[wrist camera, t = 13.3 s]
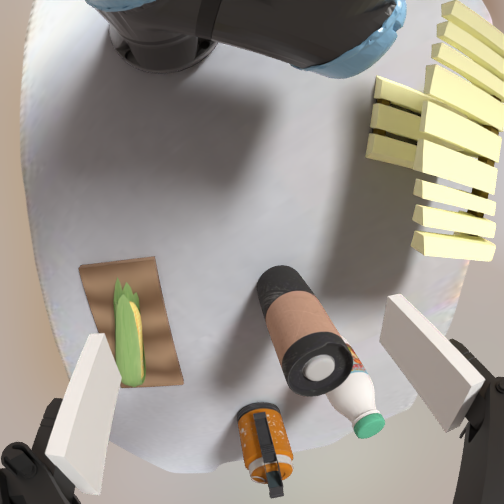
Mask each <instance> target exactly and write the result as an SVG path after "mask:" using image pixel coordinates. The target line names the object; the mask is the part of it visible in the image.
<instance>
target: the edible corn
mask: <svg viewBox="0 0 504 504" xmlns="http://www.w3.org/2000/svg"><path fill="white" fill-rule="evenodd" d="M114 317H115V358H116V365H117V367H118V370H119V372H120V375H121V377H122V379H121V382H122V383H123V384H124V385H128V386H132V387H137V386H139V385H142V384H143V383H144V381H145V377H146V361H145V352H144V344H143V334H142V321H141V314H140V305H139V298H138V295H137V292H136V293H135V294H134V295H133V293H132V290H131V287H130V286H129V284H128V283H127V282H126V284H125V286H124V288H123V291H122V287H121V284H120V281H119V279H118V277H117V280H116V283H115V291H114Z"/></svg>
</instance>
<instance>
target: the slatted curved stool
mask: <svg viewBox="0 0 504 504" xmlns="http://www.w3.org/2000/svg"><path fill="white" fill-rule="evenodd" d="M441 9H442V17H443V18H445V19H447V20H448V21H446V22H443V23H439V24H437V37H438V38H440V39H441V40H443V41H445V42H447V43H448V44H450V45H451V46H453V47H455V48H456V49H458V50H459V51H461V52H462V53H464V54H465V55H466V56H468V57H469V58H470V59H469V58H467V57H466V56H464V55H463V54H461V53H459V52H458V51H456V50H454V49H453V48H451V47H449V46H447V45H446V44H444V43H442V42H441V43H437V44H433V45H432V53H431V58H432V59H434V60H436V61H438V62H440V63H442V64H443V65H445V66H447V67H449V68H451V69H452V70H454V71H456V72H457V73H459V74H460V75H462V76H463V77H465V78H466V79H467V80H469V81H470V82H471V83H472V84H471V83H470V82H468V81H466V80H464V79H463V78H461V77H459V76H457V75H455V74H454V73H452V72H450V71H448V70H446V69H444V68H442V67H440V66H438V65H437V64H434V65H427V66H426V74H425V86H424V93H422V92H419V91H417V90H414V89H412V88H409V87H407V86H404V85H402V84H399V83H396V82H394V81H391V80H388V79H385V78H383V77H380V76H376V85H375V94H374V98H376V99H377V104H373V109H372V117H371V124H370V128H373V134H371V133H369V137H368V144H367V150H366V156H365V158H370V159H374V160H379V161H383V162H387V163H391V164H395V165H399V166H403V167H407V168H410V169H413V170H416V171H420V172H424V173H427V174H431V175H434V176H438V177H441V178H444V179H448V180H451V181H454V182H457V183H460V184H464V185H467V186H470V187H473V189H472V193H469V192H465V191H462V190H456V189H453V188H449V187H446V186H442V185H438V184H434V183H431V182H427V181H423V180H419V179H416V182H415V187H414V191H413V195H416V196H418V197H421V198H423V199H428V200H432V201H437V202H441V203H445V204H449V205H453V206H457V207H461V208H465V209H468V211H467V212H463V211H459V212H453V211H447V210H442V209H437V208H432V207H427V206H422V205H417V204H416V205H415V210H414V214H413V218H412V220H413V221H415V222H417V223H419V224H420V225H422V226H426V227H432V228H439V229H445V230H450V231H455V232H454V234H453V235H446V234H437V233H430V232H422V231H414V235H413V239H412V242H411V247H413V248H414V249H416V250H417V251H419V252H420V253H422V254H423V255H425V256H436V257H447V258H458V259H469V260H480V261H491V260H492V258H493V255H494V252H495V248H496V246H495V245H494V244H493V243H491V242H490V241H488V240H486V239H484V238H482V237H480V236H484V237H490V238H493V237H494V234H495V228H496V224H495V223H494V222H492V221H490V220H488V219H486V218H483V216H484V213H485V214H489V215H492V216H494V213H495V207H496V202H494V201H491V200H489V199H488V194H489V193H490V194H493V195H494V191H495V185H496V178H497V170H498V169H496V168H494V162H497V163H498V162H499V154H500V147H501V140H502V138H501V137H500V136H498V134H499V132H503V127H504V104H503V103H504V34H503V33H501V32H500V31H499V30H498V29H497V28H495V27H494V26H493V25H491V24H490V23H489V22H488V21H486V20H485V19H484V18H482V17H481V16H479V15H478V14H477V13H475V12H474V11H472V10H471V9H470V8H468V7H467V6H465V5H464V4H462V3H461V2H459V1H458V0H453V1H450V2H447V3H444V4H441ZM471 59H472V60H473V61H472V60H471ZM390 103H391V104H394V105H397V106H400V107H402V108H405V109H408V110H411V111H413V112H416V113H419V114H421V117H419V116H416V115H414V114H411V113H408V112H405V111H402V110H399V109H396V108H393V107H390ZM386 132H388V133H392V134H395V135H398V136H402V137H405V138H408V139H411V140H414V141H417V142H418V143H417V146H416V145H412V144H409V143H406V142H402V141H399V140H395V139H392V138H388V137H385V136H386ZM469 156H471V157H475V158H478V160H476V159H474V158H471V157H469ZM478 235H479V236H478Z"/></svg>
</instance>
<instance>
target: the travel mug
mask: <svg viewBox="0 0 504 504" xmlns="http://www.w3.org/2000/svg"><path fill="white" fill-rule="evenodd" d="M257 292H258V296H259V300H260V304H261V307H262V311H263V314H264V318H265V322H266V325H267V328H268V331H269V334H270V336H271V339H272V342H273V345H274V348H275V351H276V353H277V356H278V359H279V362H280V365H281V367H282V370H283V373H284V376H285V378H286V381H287V384H288V386H289V388H290V389H291V390H292V391H293V392H295V393H296V394H299V395H302V396H319V395H322V394H325V393H328V392H330V391H332V390H334V389H336V388H337V387H339V386H340V385H341V384H342V383H343V382H344V381H345V380H346V379H347V378H348V376H349V375H350V373H351V371H352V368H353V356H352V354H351V352H350V350H349V349H348V347H347V345H346V344H345V342H344V341H343V339H342V337H341V336H340V334H339V332H338V331H337V329H336V327H335V326H334V324H333V323H332V321H331V319H330V318H329V316H328V315H327V313H326V311H325V310H324V308H323V307H322V305H321V303H320V302H319V300H318V299H317V297H316V296H315V295H314V293H313V292H312V291H311V289H310V288H309V287H308V285H307V284H306V282H305V281H304V280H303V278H302V277H301V276H300V275H299V273H298V272H297V271H296V270H295V269H293V268H291V267H289V266H283V265H281V266H275V267H272V268H270V269H268V270H267V271H266V272H264V273H263V275H262V276H261V277H260V279H259V281H258V285H257Z"/></svg>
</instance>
